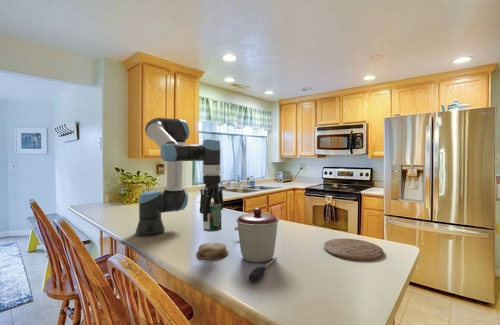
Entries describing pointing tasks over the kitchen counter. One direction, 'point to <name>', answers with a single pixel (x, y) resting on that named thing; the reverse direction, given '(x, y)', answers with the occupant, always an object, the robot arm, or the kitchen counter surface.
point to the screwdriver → (258, 272)
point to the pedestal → (212, 251)
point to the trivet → (353, 249)
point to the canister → (257, 235)
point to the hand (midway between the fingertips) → (212, 226)
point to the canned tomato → (214, 217)
